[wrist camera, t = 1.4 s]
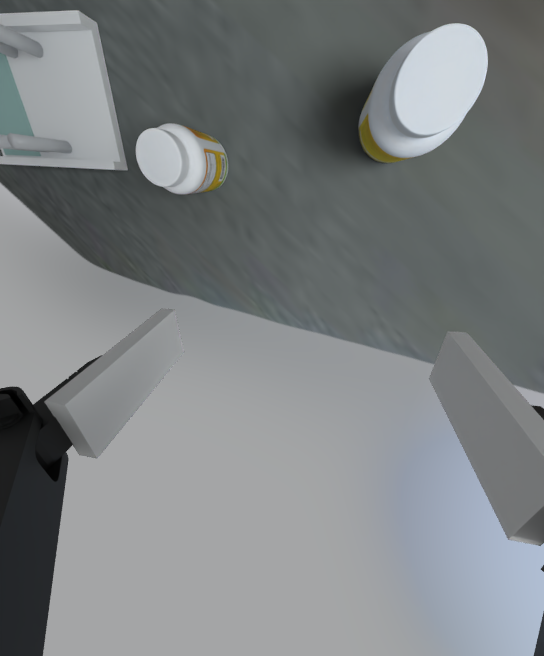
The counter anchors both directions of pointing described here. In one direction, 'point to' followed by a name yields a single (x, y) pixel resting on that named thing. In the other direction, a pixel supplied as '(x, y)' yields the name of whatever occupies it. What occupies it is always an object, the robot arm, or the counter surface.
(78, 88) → the tray
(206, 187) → the supplement bottle
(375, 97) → the pill bottle
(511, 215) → the counter surface
